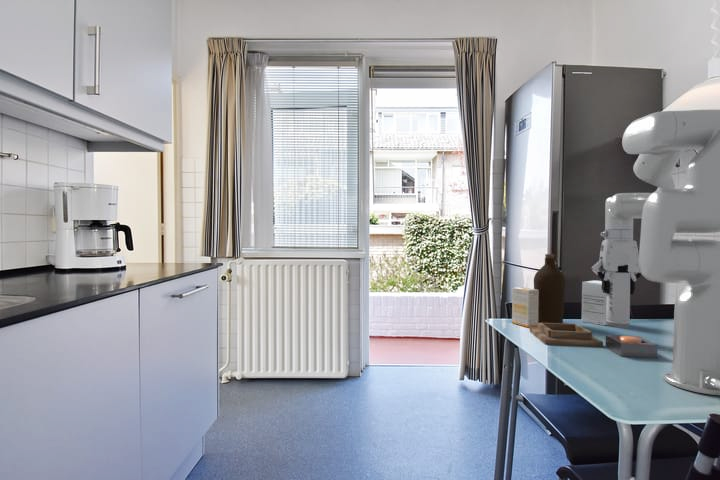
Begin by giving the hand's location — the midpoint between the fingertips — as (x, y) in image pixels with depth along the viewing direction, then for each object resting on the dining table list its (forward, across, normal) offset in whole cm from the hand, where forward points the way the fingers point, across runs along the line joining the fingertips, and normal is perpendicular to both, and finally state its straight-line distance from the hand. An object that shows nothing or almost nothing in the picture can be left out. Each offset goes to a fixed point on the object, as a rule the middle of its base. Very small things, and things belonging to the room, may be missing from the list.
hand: (617, 292), depth 132 cm
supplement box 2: (+14, +5, +25) cm, 29 cm away
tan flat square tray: (+14, -17, -3) cm, 22 cm away
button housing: (+15, -4, -16) cm, 22 cm away
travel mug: (+10, 0, 0) cm, 10 cm away
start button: (+13, -4, -16) cm, 21 cm away
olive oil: (+14, -14, +21) cm, 29 cm away
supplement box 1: (+14, -24, +15) cm, 32 cm away
